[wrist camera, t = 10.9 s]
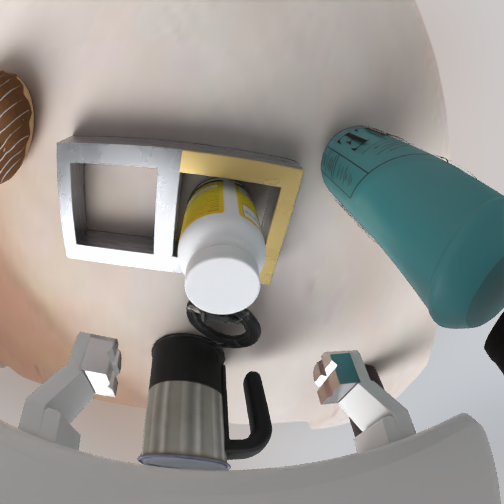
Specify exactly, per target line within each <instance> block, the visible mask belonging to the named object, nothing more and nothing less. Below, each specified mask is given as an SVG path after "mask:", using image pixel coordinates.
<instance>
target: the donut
mask: <svg viewBox="0 0 504 504" xmlns="http://www.w3.org/2000/svg"><path fill="white" fill-rule="evenodd" d="M33 128H34V111H33V105H32V100H31V97H30V94H29V91H28V89H27V87H26V86H25V84H24V83H23V82H22V80H21V79H20V78H19V77H17V75H16V74H12V73H9V72H5V71H2V70H1V71H0V184H1V183H4V182H5V181H7V180H9V179H10V178H12V176H13V175H14V174H15V173H16V172H17V170H18V169H19V168H20V166H21V165H22V163H23V161H24V159H25V157H26V155H27V153H28V150H29V147H30V144H31V141H32V135H33Z"/></svg>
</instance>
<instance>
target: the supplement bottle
mask: <svg viewBox="0 0 504 504" xmlns="http://www.w3.org/2000/svg"><path fill="white" fill-rule="evenodd" d="M265 259H266V247H265V241H264V237H263V234H262V231H261V227H260V223H259V220H258V216H257V212H256V209H255V205H254V202H253V199H252V197H251V195H250V193H249V192H248V190H247V189H246V188H245V187H244V186H243V185H241V184H240V183H238V182H236V181H234V180H231V179H226V178H216V179H211V180H208V181H206V182H204V183H202V184H201V185H199V186H198V187H197V188H196V189H195V190H194V191H193V193H192V194H191V196H190V198H189V200H188V203H187V207H186V212H185V215H184V220H183V225H182V229H181V234H180V239H179V244H178V262H179V265H180V268H181V270H182V272H183V274H184V275H185V291H186V294H187V296H188V298H189V300H190V301H191V302H192V303H193V304H194V305H195V306H196V307H198V308H199V309H201V310H203V311H206V312H209V313H213V314H222V315H223V314H232V313H236V312H239V311H241V310H243V309H245V308H247V307H248V306H250V305H251V304H252V303H253V302H254V301H255V300H256V298H257V296H258V294H259V292H260V287H261V281H260V275H259V274H260V272H261V271H262V269H263V266H264V263H265Z"/></svg>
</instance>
